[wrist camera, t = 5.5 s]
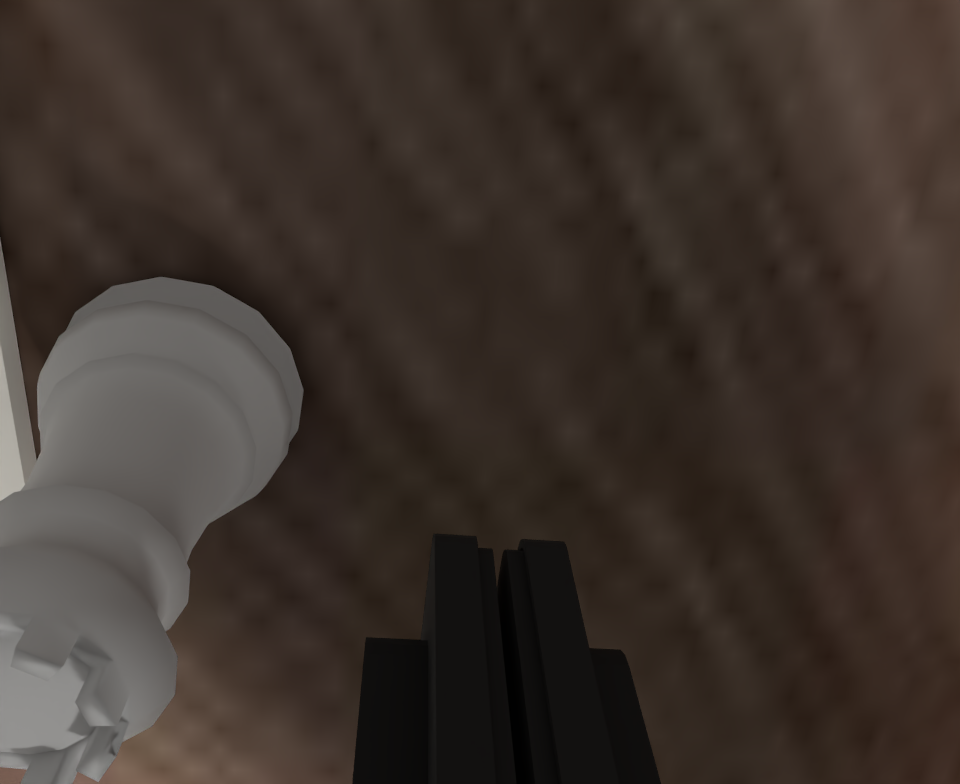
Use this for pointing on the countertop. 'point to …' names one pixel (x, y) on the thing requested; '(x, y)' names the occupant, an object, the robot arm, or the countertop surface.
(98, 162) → the countertop surface
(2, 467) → the mat
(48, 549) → the rook chess piece
